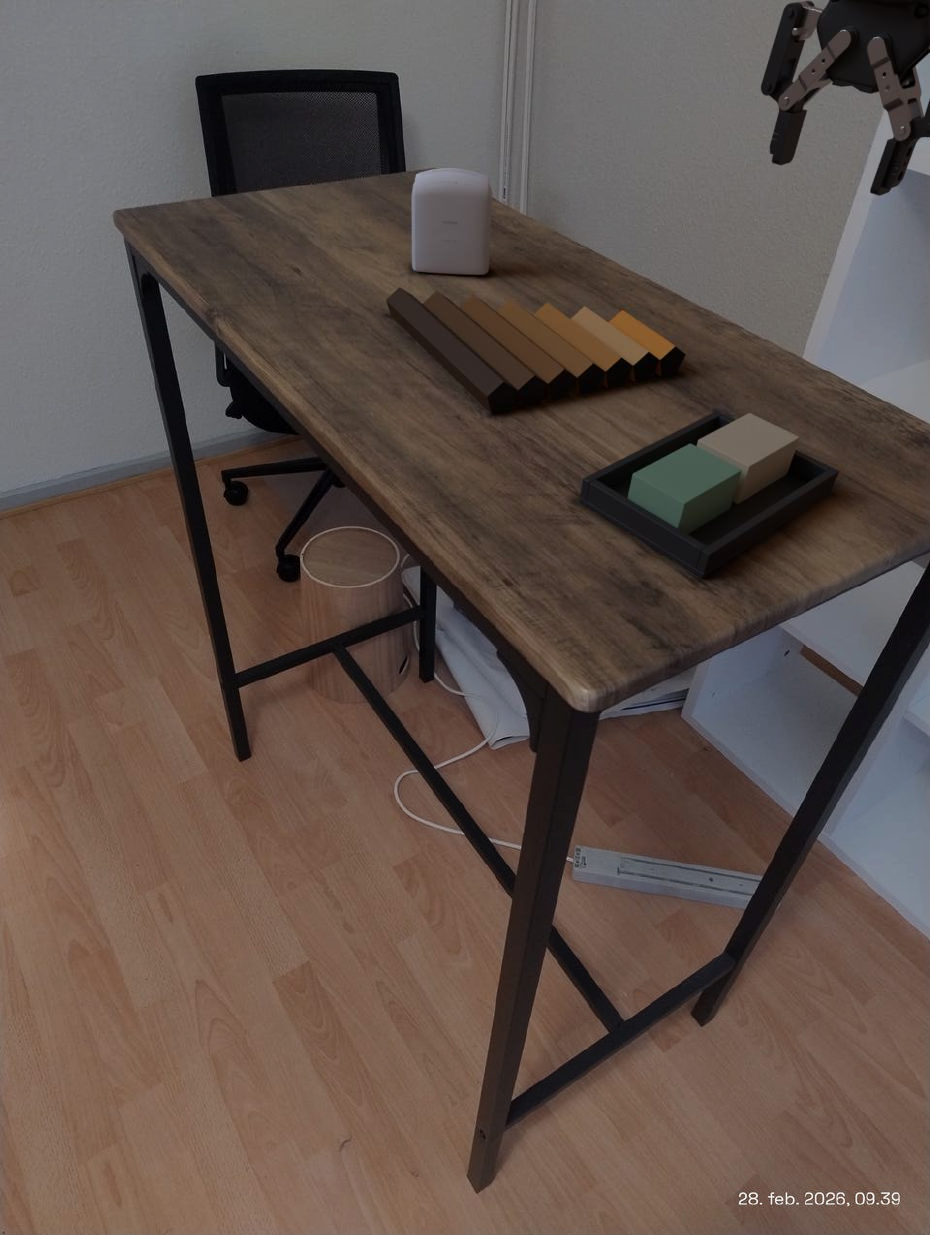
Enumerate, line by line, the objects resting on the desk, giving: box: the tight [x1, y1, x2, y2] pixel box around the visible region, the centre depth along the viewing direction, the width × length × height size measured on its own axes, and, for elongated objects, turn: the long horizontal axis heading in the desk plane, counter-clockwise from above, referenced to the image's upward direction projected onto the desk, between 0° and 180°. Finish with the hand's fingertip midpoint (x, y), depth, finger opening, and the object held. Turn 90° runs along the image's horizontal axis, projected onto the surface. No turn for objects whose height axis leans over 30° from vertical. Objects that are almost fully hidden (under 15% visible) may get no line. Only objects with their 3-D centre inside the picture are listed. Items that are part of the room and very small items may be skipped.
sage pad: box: [628, 444, 742, 534], centre depth 75 cm, size 6×8×4 cm
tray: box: [578, 410, 840, 579], centre depth 78 cm, size 14×20×2 cm
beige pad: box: [697, 412, 801, 504], centre depth 79 cm, size 6×8×4 cm
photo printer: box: [411, 167, 493, 276], centre depth 111 cm, size 10×4×12 cm, turn 88°
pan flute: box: [385, 286, 687, 415], centre depth 99 cm, size 25×3×25 cm
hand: (829, 177), depth 67 cm, fingers open, 8 cm apart
